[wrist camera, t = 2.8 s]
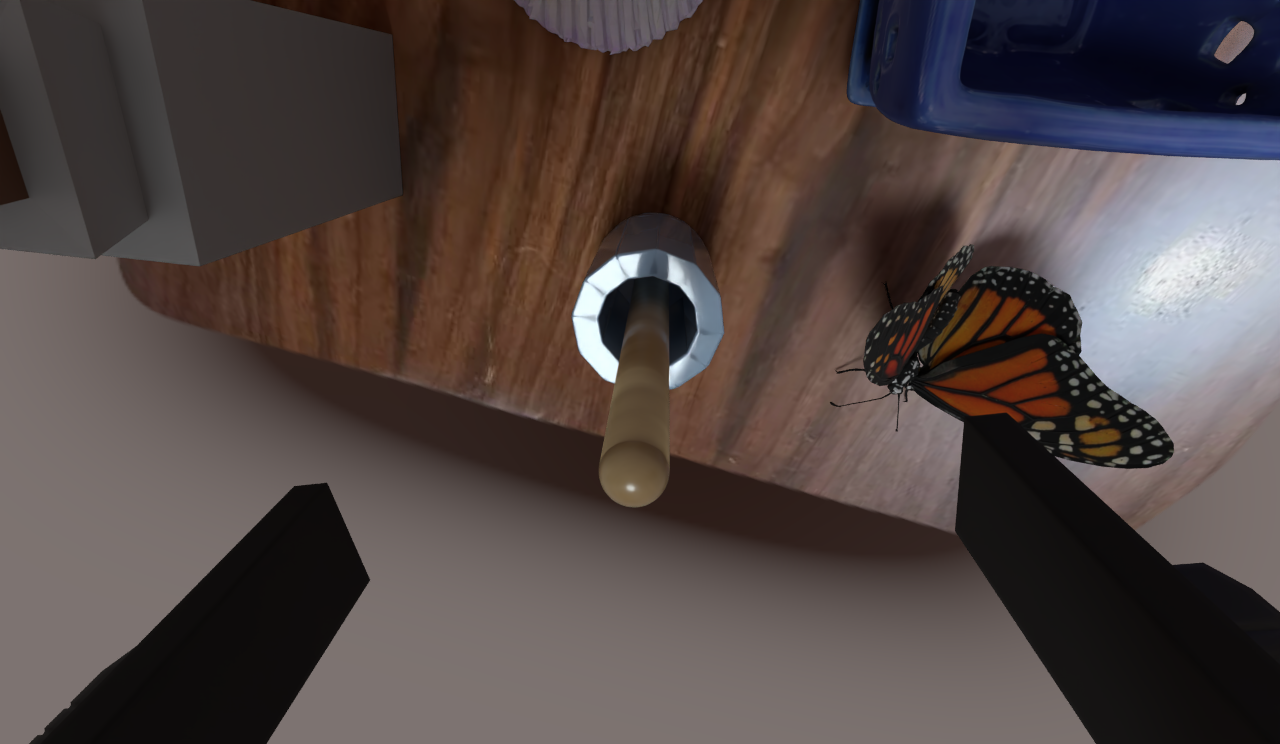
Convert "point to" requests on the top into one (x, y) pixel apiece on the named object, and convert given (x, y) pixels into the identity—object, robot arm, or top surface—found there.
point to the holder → (665, 255)
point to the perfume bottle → (187, 126)
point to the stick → (640, 402)
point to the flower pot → (1075, 73)
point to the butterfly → (1010, 365)
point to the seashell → (610, 20)
